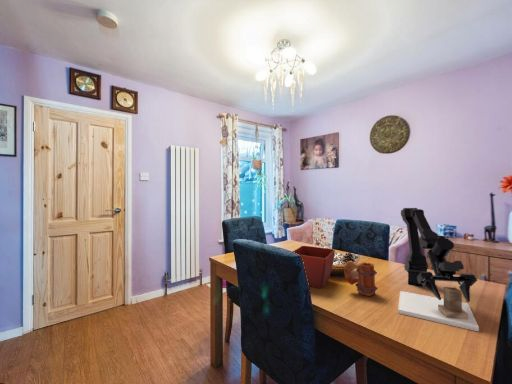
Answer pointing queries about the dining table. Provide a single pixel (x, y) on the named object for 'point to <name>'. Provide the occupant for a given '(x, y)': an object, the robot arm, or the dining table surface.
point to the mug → (362, 277)
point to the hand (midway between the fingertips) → (454, 300)
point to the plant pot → (317, 264)
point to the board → (433, 310)
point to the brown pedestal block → (452, 304)
